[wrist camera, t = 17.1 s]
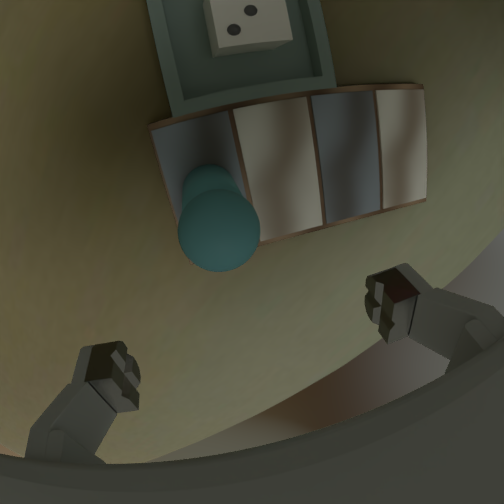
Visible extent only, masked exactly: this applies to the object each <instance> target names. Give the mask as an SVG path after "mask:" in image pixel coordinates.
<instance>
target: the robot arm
mask: <svg viewBox="0 0 504 504" xmlns="http://www.w3.org/2000/svg"><path fill="white" fill-rule="evenodd" d="M365 286H366V288H367V289H368V290H369V291H368V292H367V294H366V295H365V308H366V312H367V314H368V317H369V318H370V320H371V321H372V322H373V323H375V324H378V325H379V329H378V332H379V333H380V335H381V336H382V337H383V339H384V340H385V342H386V343H387V344H390V343H393V342H395V341H398V340H400V339H402V338H405V337H408V336H409V338H411V339H413V340H414V341H416V342H418V343H420V344H422V345H424V346H425V347H427V348H429V349H431V350H433V351H435V352H436V353H438V354H440V355H442V356H444V357H446V358H447V359H449V360H450V362H449V364H448V367H447V369H446V372H445V374H444V375H443V376H441V377H439V378H437V379H435V380H434V381H432V382H430V383H428V384H426V385H424V386H422V387H420V388H418V389H416V390H414V391H412V392H410V393H408V394H406V395H404V396H402V397H400V398H398V399H395V400H393V401H391V402H389V403H387V404H384V405H382V406H380V407H377V408H375V409H373V410H371V411H368V412H366V413H363V414H361V415H358V416H355V417H353V418H350V419H347V420H345V421H342V422H339V423H337V424H334V425H331V426H328V427H325V428H322V429H319V430H316V431H313V432H309V433H306V434H303V435H299V436H296V437H293V438H289V439H286V440H282V441H278V442H274V443H270V444H266V445H262V446H258V447H253V448H249V449H244V450H240V451H234V452H229V453H223V454H218V455H212V456H206V457H199V458H191V459H183V460H174V461H164V462H151V463H133V464H106V463H105V462H104V461H103V460H101V459H100V458H99V457H97V456H96V455H94V454H95V452H96V451H97V449H98V447H99V445H100V443H101V442H102V440H103V438H104V436H105V435H106V433H107V431H108V429H109V428H110V426H111V424H112V422H113V421H114V419H115V417H116V416H117V413H121V412H128V411H135V410H139V395H140V394H139V392H138V391H137V390H136V388H137V387H138V385H139V384H140V379H141V375H140V370H139V366H138V364H137V362H136V360H135V359H134V357H133V356H131V355H129V354H127V349H128V348H127V347H126V345H125V344H124V342H123V341H115V342H108V343H102V344H96V345H92V346H85V347H83V348H81V349H80V353H79V356H78V360H77V363H76V367H75V371H74V375H73V379H72V383H71V384H67V386H66V387H65V388H64V389H63V390H62V391H61V393H60V394H59V395H58V396H57V397H56V398H55V399H54V401H53V402H52V403H51V404H50V405H49V407H48V408H47V409H46V410H45V411H44V412H43V414H42V415H41V416H40V417H39V418H38V420H37V421H36V422H35V423H34V424H33V426H32V427H31V429H30V433H29V438H28V443H27V448H26V453H25V458H22V457H15V456H10V455H5V454H0V504H504V317H503V316H502V315H501V314H500V313H499V312H498V311H497V310H496V309H495V308H494V307H493V306H491V305H488V304H485V303H482V302H479V301H476V300H473V299H470V298H467V297H464V296H461V295H458V294H455V293H452V292H449V291H446V290H443V289H440V288H434V289H433V288H432V287H431V286H430V285H429V284H428V283H427V282H426V281H425V280H424V279H423V278H422V277H421V276H420V275H419V274H418V273H417V272H416V271H415V270H414V269H413V268H412V267H411V266H410V265H409V264H407V263H403V264H400V265H397V266H395V267H393V268H390V269H387V270H384V271H381V272H378V273H375V274H372V275H369V276H367V278H366V284H365Z"/></svg>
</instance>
